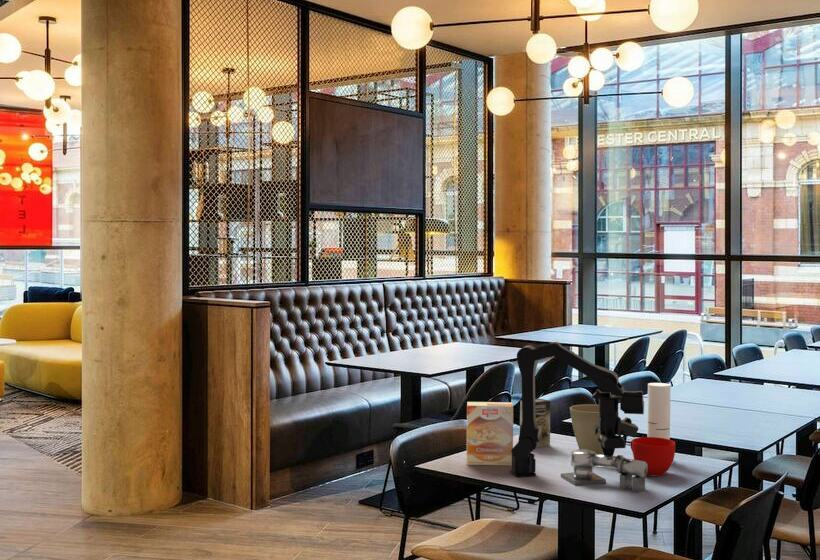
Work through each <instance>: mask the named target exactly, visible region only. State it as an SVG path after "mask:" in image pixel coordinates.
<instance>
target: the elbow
mask: <svg viewBox="0 0 820 560" xmlns="http://www.w3.org/2000/svg"><path fill="white" fill-rule="evenodd" d="M620 457H624V455H622V454H617V455H613V456H610V455H601V454H595V452H594V451H591V450H583V449H579V448H578V449H573V450H570V466H572V467H573V468H574V467H576V468H596V467H598V468H601V467H602V468H606V469H607V468H609V469H616V470H617V461H618V459H619V458H620Z"/></svg>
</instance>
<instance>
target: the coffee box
mask: <svg viewBox="0 0 820 560" xmlns="http://www.w3.org/2000/svg"><path fill="white" fill-rule="evenodd" d="M519 403H520V405H519V430H520V429H521V425H522V399H521V400H520V401H519ZM535 415H536V423H537V426H542V429H541V435H542V439H541V440H540V443H539V444H538V446H537V447H536V448H541V447H544V448H545V447H548V446H549V447H550V446H551V400H549V399H544V398H535Z"/></svg>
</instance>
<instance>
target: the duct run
mask: <svg viewBox="0 0 820 560" xmlns="http://www.w3.org/2000/svg"><path fill="white" fill-rule="evenodd" d="M616 471H617V474H619V490H621V491H622V490H623V491H627V490H628V489H630V488H632V490H631V492H632V493H637V494H638V493H640V492H642V491H644V490H645V489H646V476H647V475H646V474H647V471H648V465H647V463H646V462H644V461H638V460H634V459H632V458H626V457H624V456H623V457H620V458H619V459H618V461H617V469H616Z"/></svg>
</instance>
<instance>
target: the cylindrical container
mask: <svg viewBox="0 0 820 560" xmlns="http://www.w3.org/2000/svg"><path fill="white" fill-rule="evenodd" d="M646 428H647V432H646V433H647V434H646V435H647V436H646V437H657V438H665V439H669V440H671V439H670V438H671V384H669V383H664V382H649V383H647V426H646Z"/></svg>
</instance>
